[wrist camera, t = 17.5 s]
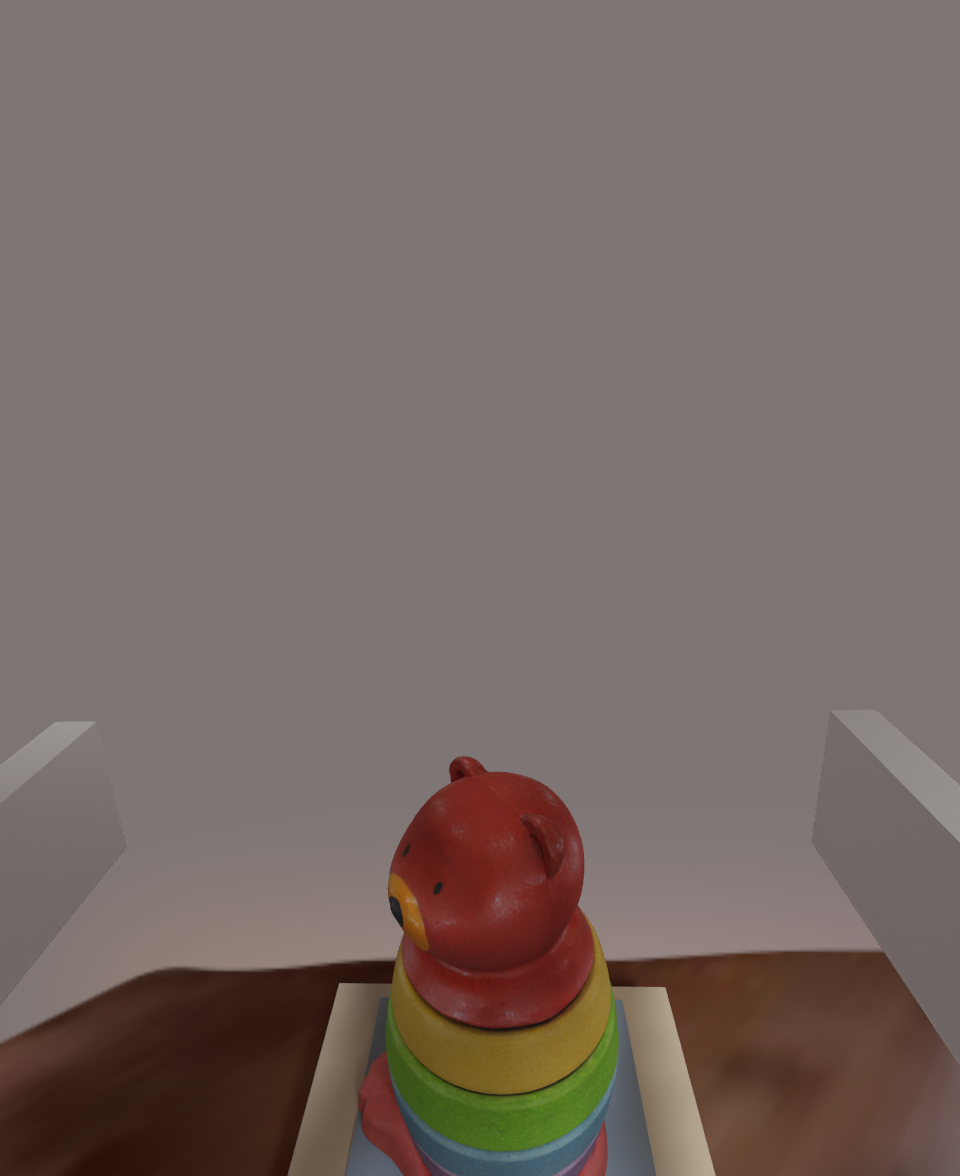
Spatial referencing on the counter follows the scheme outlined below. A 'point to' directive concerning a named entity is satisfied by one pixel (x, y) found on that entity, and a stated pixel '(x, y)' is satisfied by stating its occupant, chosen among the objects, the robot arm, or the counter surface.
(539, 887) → the stacking bear
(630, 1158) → the plinth
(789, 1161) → the counter surface
